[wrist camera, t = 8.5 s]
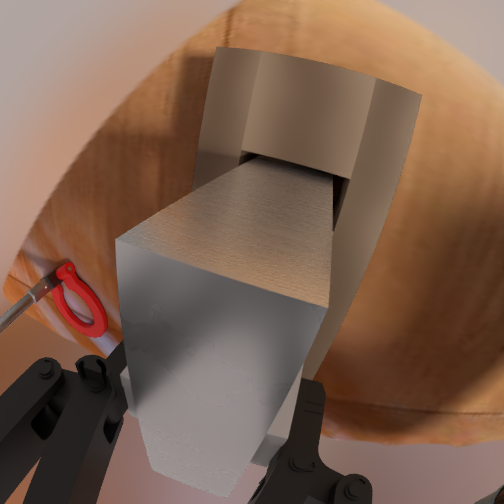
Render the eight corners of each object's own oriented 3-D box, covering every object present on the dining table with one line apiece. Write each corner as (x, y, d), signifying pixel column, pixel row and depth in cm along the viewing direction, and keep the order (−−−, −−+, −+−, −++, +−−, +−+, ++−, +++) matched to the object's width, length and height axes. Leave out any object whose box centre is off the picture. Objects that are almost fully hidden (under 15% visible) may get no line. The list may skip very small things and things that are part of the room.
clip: (332, 171, 16) (328, 308, 5) (279, 339, 22) (226, 498, 11) (264, 152, 17) (115, 239, 5) (229, 323, 23) (151, 469, 11)
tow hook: (122, 328, 29) (75, 255, 26) (54, 415, 18) (-15, 332, 15) (85, 334, 33) (44, 274, 30) (26, 403, 22) (-27, 337, 19)
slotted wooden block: (403, 99, 14) (422, 95, 10) (298, 382, 25) (290, 417, 22) (240, 59, 15) (216, 46, 12) (195, 348, 27) (177, 378, 23)
